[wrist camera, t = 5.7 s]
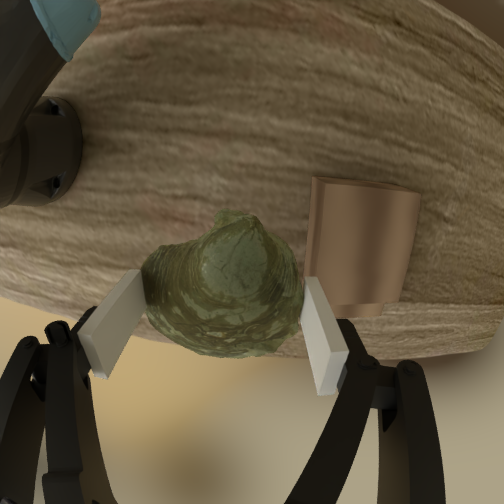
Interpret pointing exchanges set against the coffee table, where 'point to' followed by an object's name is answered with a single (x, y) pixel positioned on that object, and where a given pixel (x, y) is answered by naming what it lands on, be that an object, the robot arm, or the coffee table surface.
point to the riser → (360, 242)
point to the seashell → (225, 289)
